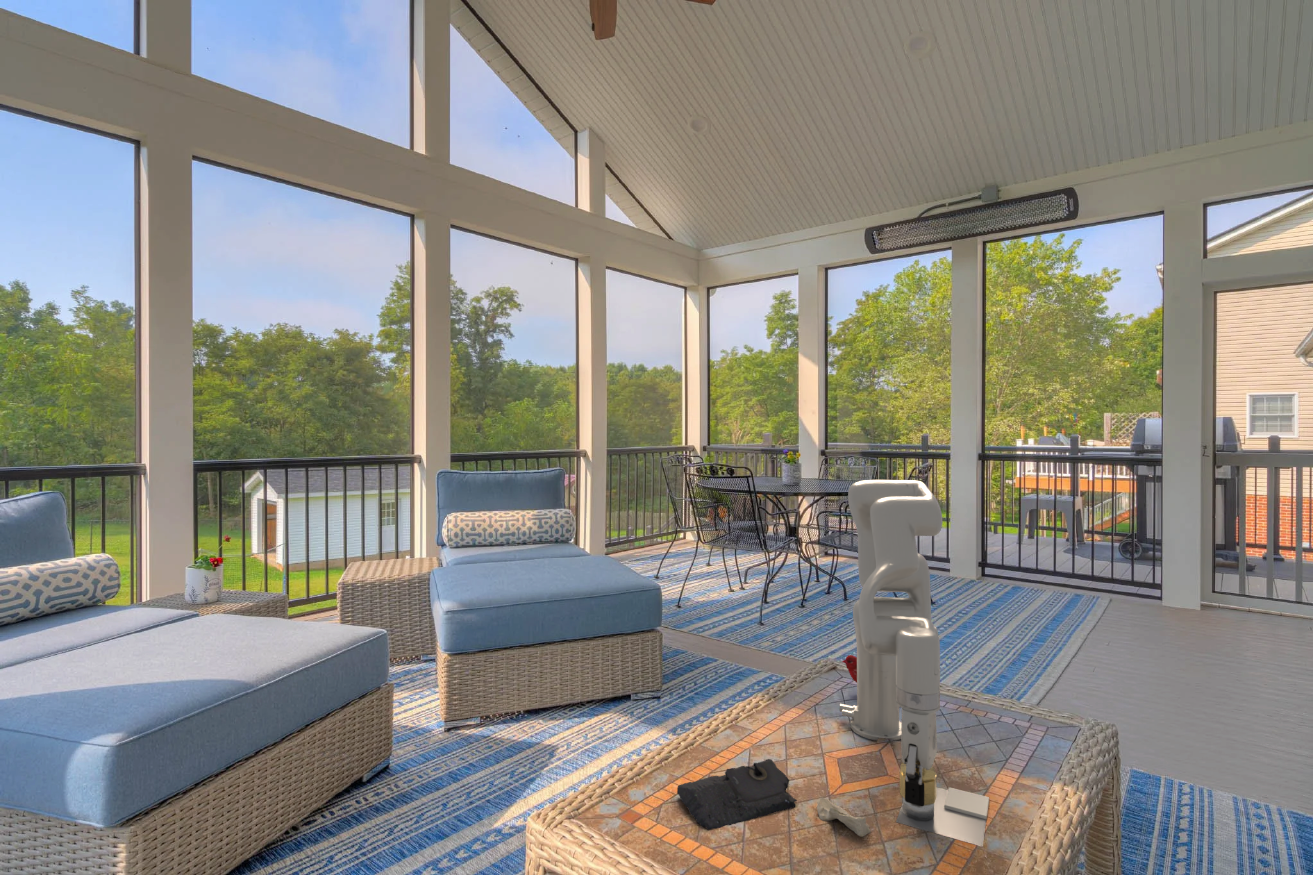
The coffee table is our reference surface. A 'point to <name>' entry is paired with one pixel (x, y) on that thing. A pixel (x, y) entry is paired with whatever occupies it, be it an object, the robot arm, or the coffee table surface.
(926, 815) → the grey knob
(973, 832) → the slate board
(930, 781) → the gold lidded jar
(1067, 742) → the coffee table surface
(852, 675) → the decorative bird figurine
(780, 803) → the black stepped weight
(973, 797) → the pad
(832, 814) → the beige bone fragment
